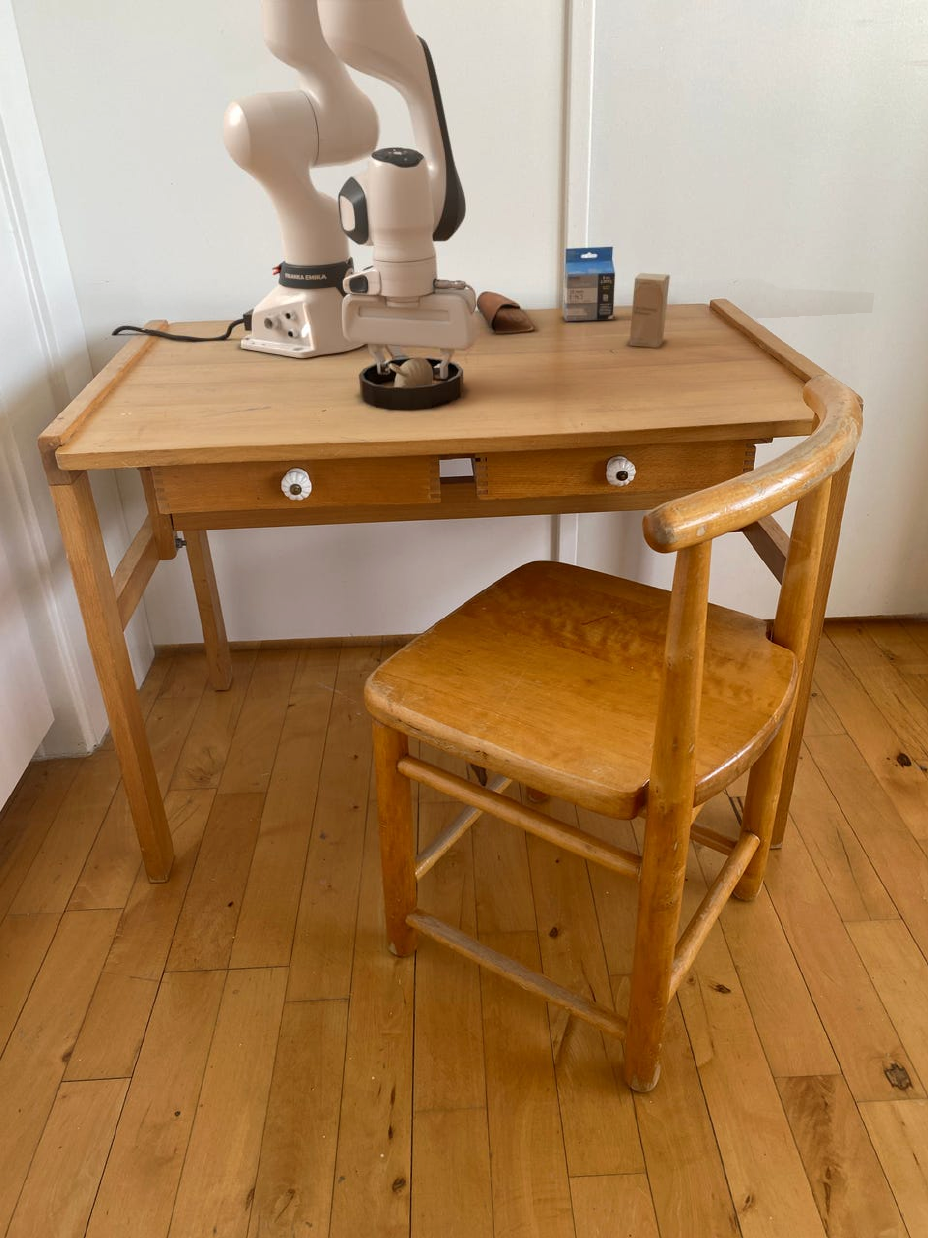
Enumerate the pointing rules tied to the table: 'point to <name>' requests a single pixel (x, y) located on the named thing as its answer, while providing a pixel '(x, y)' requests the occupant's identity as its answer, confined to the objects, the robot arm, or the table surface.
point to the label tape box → (589, 284)
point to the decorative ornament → (413, 373)
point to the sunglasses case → (503, 314)
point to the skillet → (409, 395)
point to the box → (649, 310)
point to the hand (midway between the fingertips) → (412, 375)
